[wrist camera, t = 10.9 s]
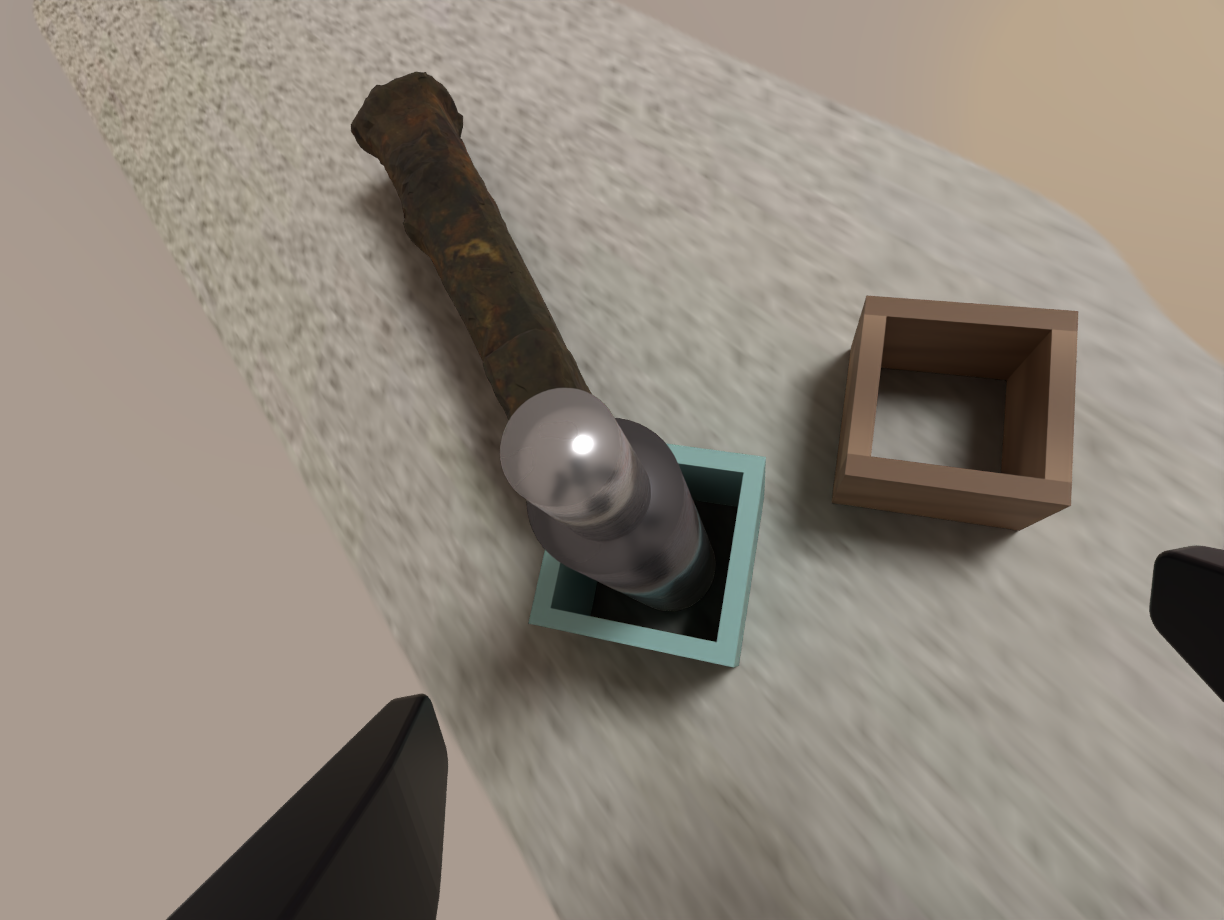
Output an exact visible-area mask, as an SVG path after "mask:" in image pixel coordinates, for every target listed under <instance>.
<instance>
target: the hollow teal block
mask: <svg viewBox="0 0 1224 920" xmlns="http://www.w3.org/2000/svg"><path fill="white" fill-rule="evenodd" d="M667 445H668V447H669V448H670V449H671V451H672V453H673V454H674V456H675V458H676V460H677V462H678V464H679V467H680V469H681V472H682V474H683V477H684V479H685V482H686V484H687V486H688V489H689V491H690V494H691V496H692V499H693V500H696V501H702V502H709V503H715V504H722V505H728V506H735V507H738V512H737V518H736V524H735V530H734V537H733V543H732V549H731V556H730V562H729V568H728V575H727V581H726V587H725V593H724V600H723V606H722V612H721V619H720V625H719V631H718V638H717V642H713V641H708V640H703V639H698V638H693V637H688V636H683V635H679V634H674V633H669V632H664V631H659V630H654V629H649V628H645V627H640V626H635V625H630V624H625V623H620V622H615V621H610V620H606V619H601V618H596V617H591V611H592V606H593V601H594V596H595V591H596V587H597V582H598V581H596V580H594V579H592V578H590V577H588V576H586V575H583V574H581V573H579V572H577V571H575V570H573V569H571V568H569V567H567V566H565V565H564V564H562V563H560V562H559V561H557V560H556V559H555V558H553V557H552V556H551V555H550V554H549V553H548V552H547V551H546V550H545V552H544V557H543V561H542V565H541V570H540V574H539V579H538V583H537V588H536V592H535V596H534V601H533V605H532V610H531V614H530V619H529V623H528V624H533V625H538V626H542V627H547V628H552V629H556V630H561V631H566V632H571V633H575V634H580V635H585V636H589V637H594V638H599V639H603V640H608V641H613V642H617V643H622V644H627V645H631V646H636V647H641V648H646V649H650V650H655V651H660V652H664V653H669V654H674V655H678V656H683V657H688V658H692V659H697V660H702V661H706V662H711V663H716V664H720V665H725V666H730V667H736V666H739V660H740V653H741V647H742V640H743V633H744V627H745V620H746V613H747V607H748V600H749V593H750V587H751V580H752V573H753V567H754V560H755V553H756V547H757V540H758V533H759V527H760V520H761V513H762V507H763V500H764V487H765V463H766V457H762V456H754V455H747V454H739V453H732V452H725V451H717V450H710V449H702V448H695V447H687V446H680V445H673V444H667Z"/></svg>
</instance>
